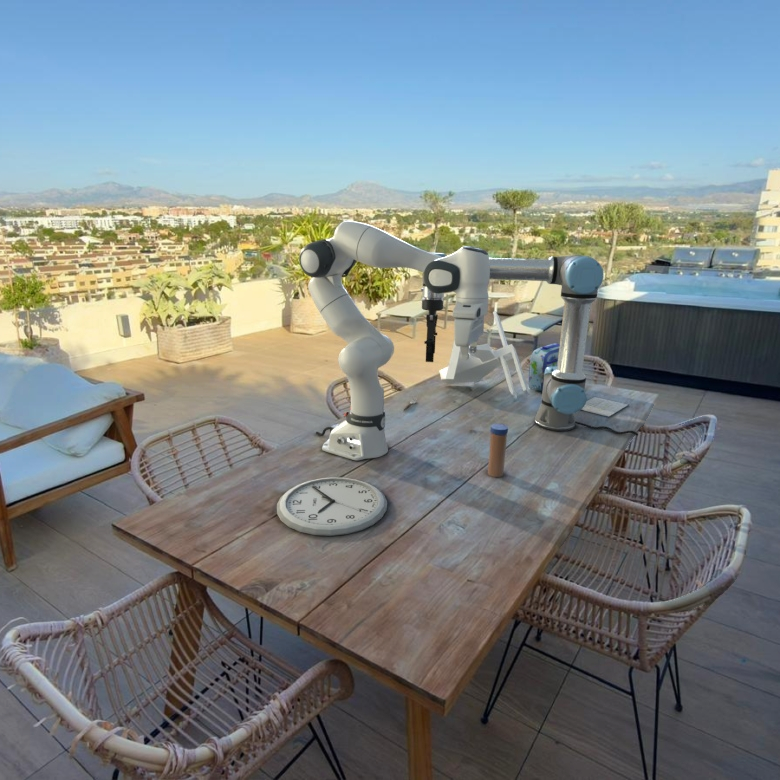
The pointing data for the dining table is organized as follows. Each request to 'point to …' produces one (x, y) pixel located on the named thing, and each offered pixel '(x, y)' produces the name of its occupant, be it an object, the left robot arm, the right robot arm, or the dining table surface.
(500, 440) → the jar
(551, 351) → the lunch box
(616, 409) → the invitation card
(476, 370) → the white plastic object
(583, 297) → the right robot arm
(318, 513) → the wall clock
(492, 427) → the lid
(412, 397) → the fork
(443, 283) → the left robot arm
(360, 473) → the dining table surface
